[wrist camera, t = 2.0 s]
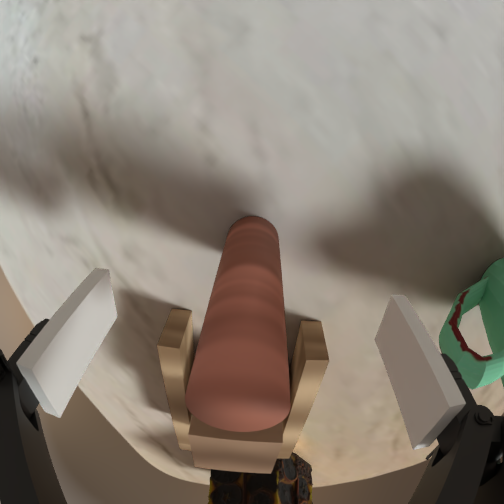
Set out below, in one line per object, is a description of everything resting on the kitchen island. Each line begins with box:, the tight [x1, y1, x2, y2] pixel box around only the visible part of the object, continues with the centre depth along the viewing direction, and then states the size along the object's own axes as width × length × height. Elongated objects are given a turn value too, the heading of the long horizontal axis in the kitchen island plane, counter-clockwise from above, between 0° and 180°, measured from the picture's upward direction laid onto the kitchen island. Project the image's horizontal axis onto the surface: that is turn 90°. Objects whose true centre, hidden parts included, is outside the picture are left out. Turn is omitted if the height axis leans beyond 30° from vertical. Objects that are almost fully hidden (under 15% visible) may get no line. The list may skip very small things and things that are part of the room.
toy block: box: [208, 453, 313, 504], centre depth 29 cm, size 10×10×10 cm
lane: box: [157, 309, 329, 459], centre depth 23 cm, size 16×11×4 cm
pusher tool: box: [185, 216, 291, 474], centre depth 17 cm, size 18×6×12 cm, turn 176°
